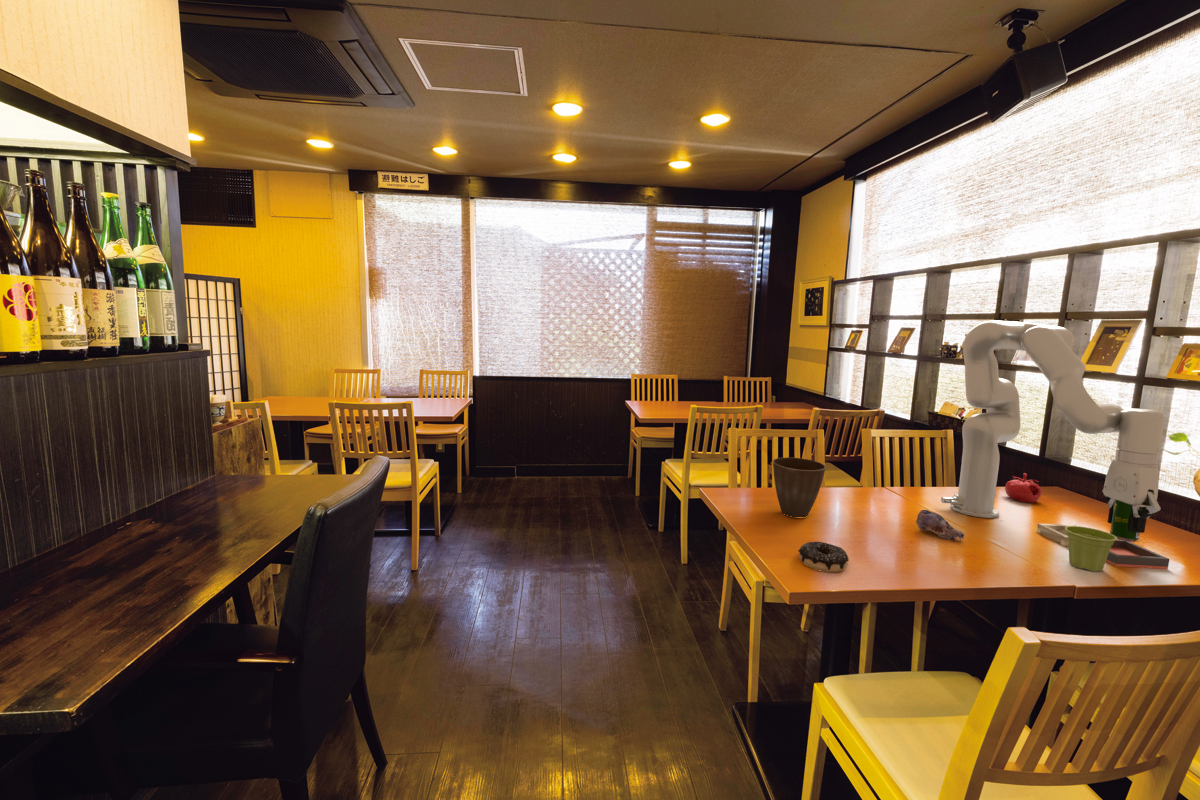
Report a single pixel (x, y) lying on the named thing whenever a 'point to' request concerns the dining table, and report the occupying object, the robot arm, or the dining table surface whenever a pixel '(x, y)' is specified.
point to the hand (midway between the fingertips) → (1125, 526)
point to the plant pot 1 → (797, 484)
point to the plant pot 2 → (1088, 547)
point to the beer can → (1123, 522)
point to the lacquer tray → (1135, 556)
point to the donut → (823, 556)
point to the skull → (937, 525)
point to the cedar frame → (1054, 532)
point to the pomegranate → (1023, 490)
